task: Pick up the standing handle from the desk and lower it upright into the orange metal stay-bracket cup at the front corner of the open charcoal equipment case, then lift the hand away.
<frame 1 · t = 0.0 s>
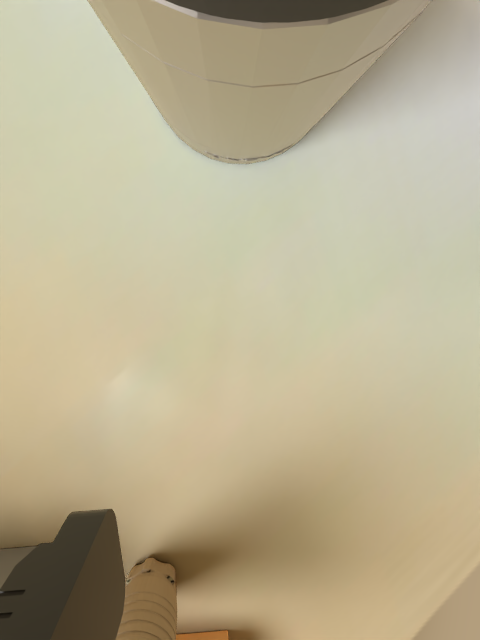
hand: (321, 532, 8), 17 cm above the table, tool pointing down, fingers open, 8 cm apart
handle: (154, 572, 29), on the table
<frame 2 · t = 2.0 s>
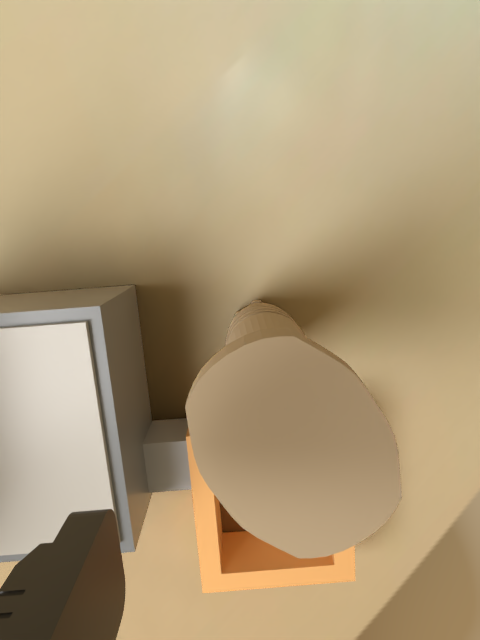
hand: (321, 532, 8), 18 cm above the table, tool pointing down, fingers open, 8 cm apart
handle: (258, 325, 26), on the table
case: (268, 477, 28), on the table
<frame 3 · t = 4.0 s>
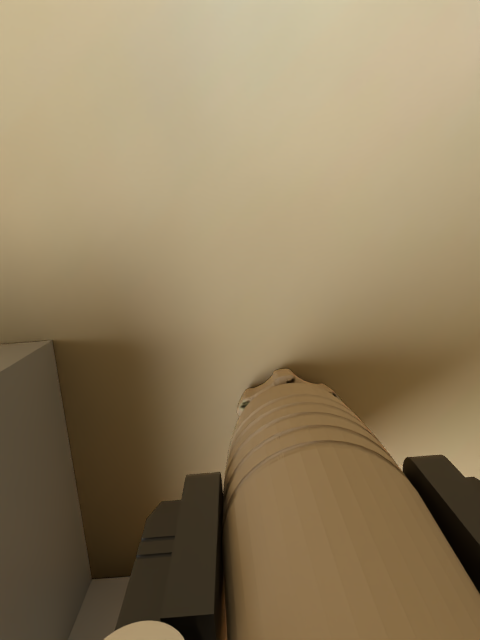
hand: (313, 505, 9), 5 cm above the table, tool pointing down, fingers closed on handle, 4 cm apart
handle: (285, 411, 14), on the table, touching gripper
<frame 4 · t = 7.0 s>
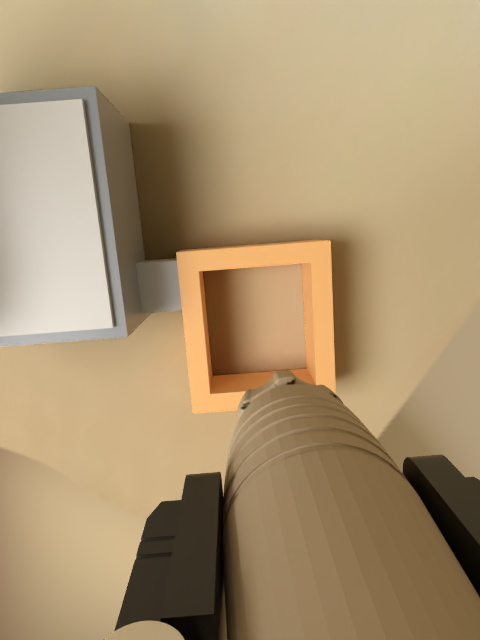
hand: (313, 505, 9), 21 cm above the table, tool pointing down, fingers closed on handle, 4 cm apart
handle: (285, 412, 14), point 16 cm above the table, touching gripper
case: (255, 318, 30), on the table
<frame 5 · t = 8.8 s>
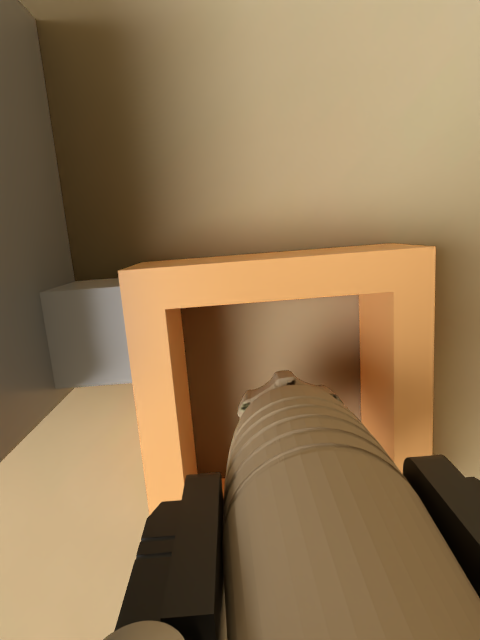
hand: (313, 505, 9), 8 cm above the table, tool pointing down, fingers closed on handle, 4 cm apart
handle: (285, 412, 14), point 3 cm above the table, touching gripper
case: (274, 383, 17), on the table
when the fingers open (6 cm above the table, at t = 9.8 s): handle drops 1 cm, resting in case.
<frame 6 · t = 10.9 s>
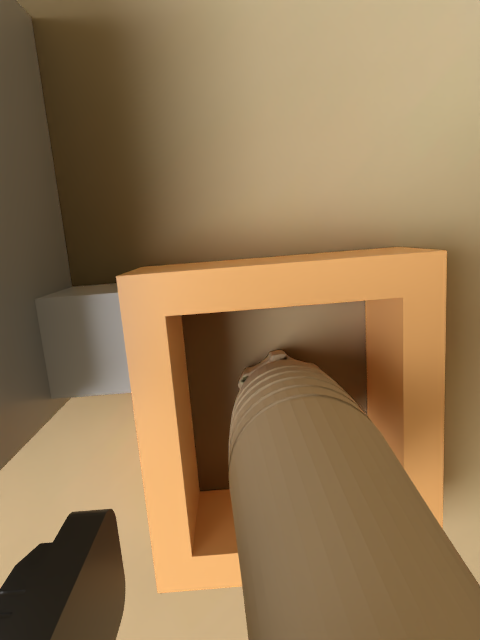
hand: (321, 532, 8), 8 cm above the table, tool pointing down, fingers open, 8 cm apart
handle: (279, 387, 16), resting in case
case: (278, 392, 16), on the table
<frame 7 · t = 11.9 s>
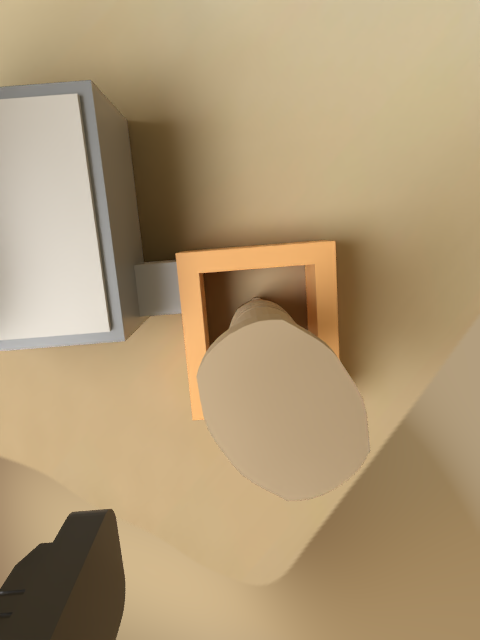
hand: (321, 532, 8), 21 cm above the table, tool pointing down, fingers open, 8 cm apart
handle: (258, 320, 29), resting in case
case: (257, 322, 29), on the table
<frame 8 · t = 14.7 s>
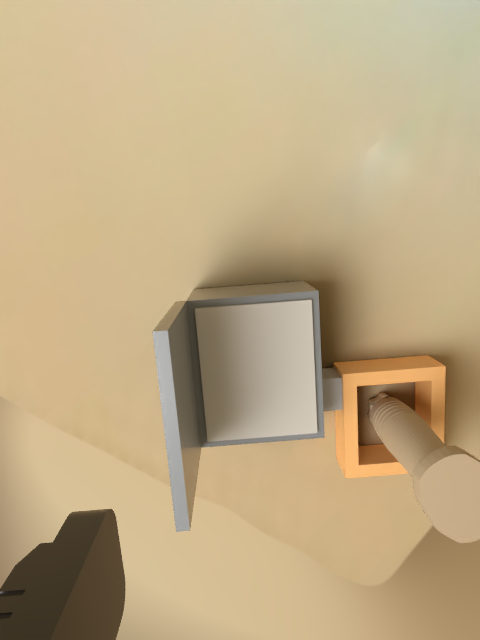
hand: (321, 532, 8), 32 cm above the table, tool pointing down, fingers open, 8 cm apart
handle: (381, 406, 43), resting in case
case: (381, 408, 42), on the table
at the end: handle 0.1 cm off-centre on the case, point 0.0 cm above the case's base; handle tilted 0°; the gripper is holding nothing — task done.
